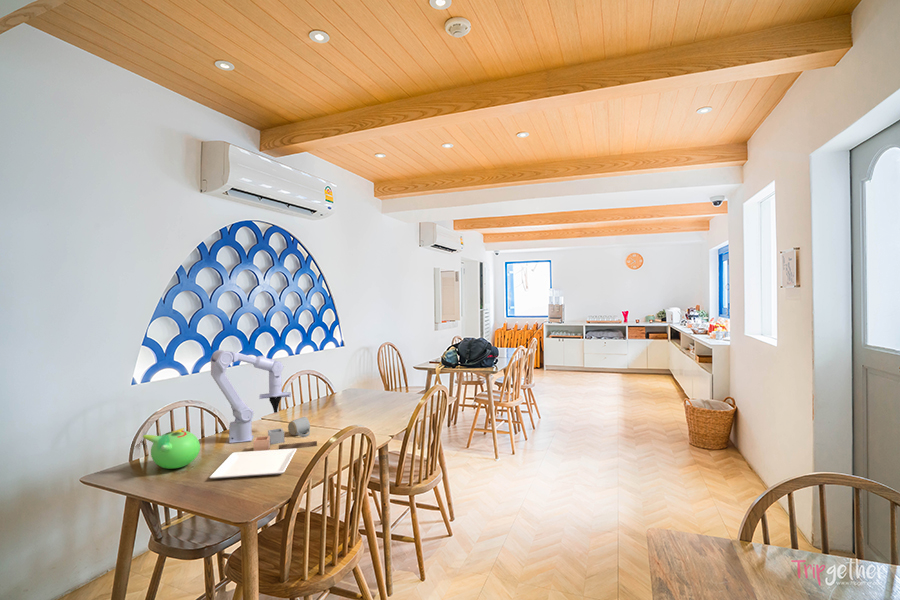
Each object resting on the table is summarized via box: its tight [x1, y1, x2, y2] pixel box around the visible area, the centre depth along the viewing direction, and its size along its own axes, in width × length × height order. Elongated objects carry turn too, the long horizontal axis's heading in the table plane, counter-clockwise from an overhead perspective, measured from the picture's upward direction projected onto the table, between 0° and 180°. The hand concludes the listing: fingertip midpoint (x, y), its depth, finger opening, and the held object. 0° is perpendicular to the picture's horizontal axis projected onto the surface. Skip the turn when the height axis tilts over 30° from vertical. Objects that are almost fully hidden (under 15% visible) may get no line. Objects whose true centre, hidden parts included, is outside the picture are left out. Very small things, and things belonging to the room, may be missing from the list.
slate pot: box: [267, 428, 285, 446], centre depth 204 cm, size 6×6×5 cm
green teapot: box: [142, 427, 201, 469], centre depth 174 cm, size 18×17×15 cm
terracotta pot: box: [253, 435, 271, 451], centre depth 193 cm, size 6×6×5 cm
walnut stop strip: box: [278, 440, 318, 450], centre depth 195 cm, size 16×1×2 cm, turn 107°
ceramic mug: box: [287, 416, 311, 438], centre depth 214 cm, size 11×8×8 cm
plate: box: [209, 448, 298, 479], centre depth 175 cm, size 26×26×2 cm
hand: (275, 412), depth 218 cm, fingers closed
